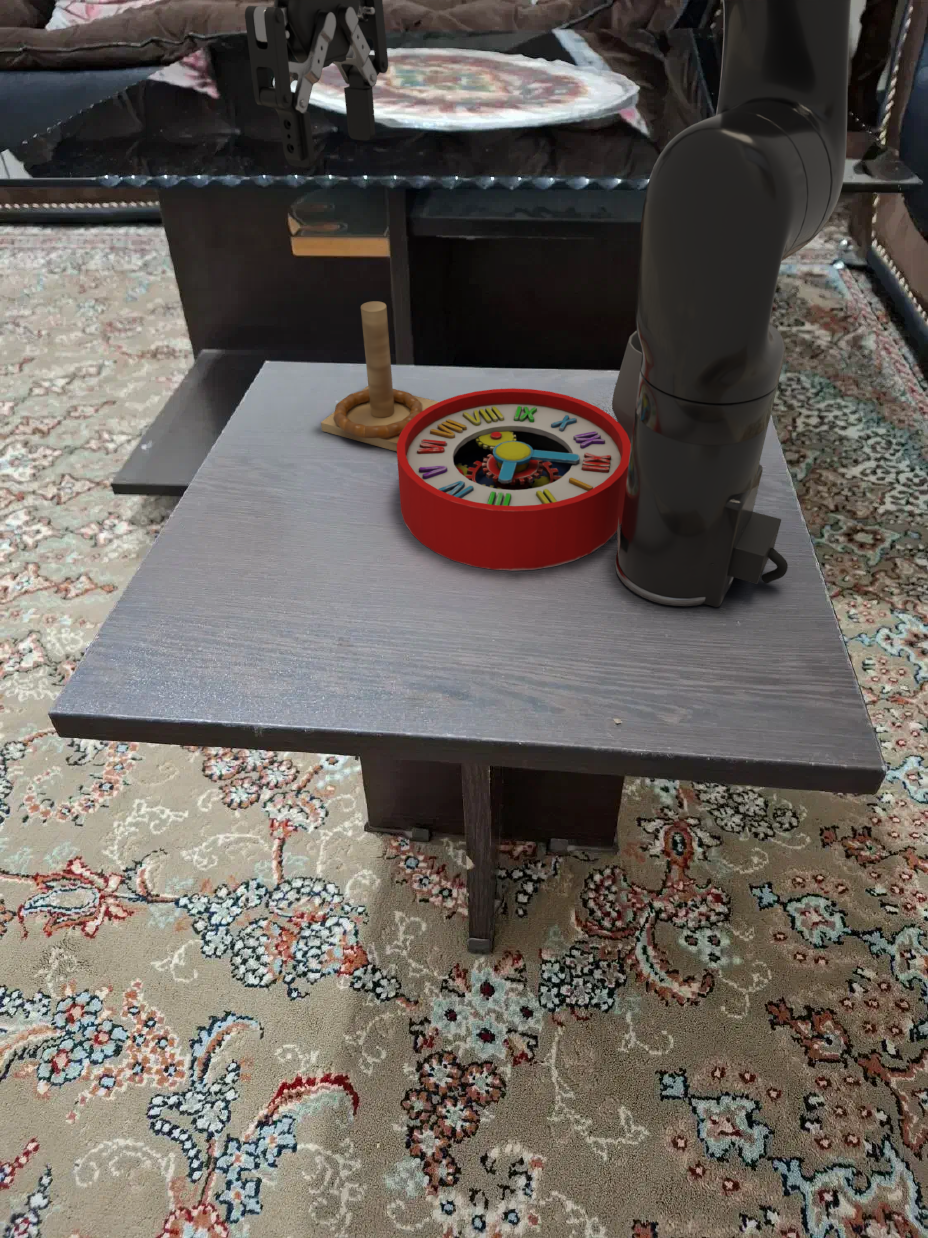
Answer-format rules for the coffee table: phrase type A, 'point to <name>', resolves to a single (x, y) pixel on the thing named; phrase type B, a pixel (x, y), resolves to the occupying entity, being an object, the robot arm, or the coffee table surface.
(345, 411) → the ring
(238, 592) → the coffee table surface
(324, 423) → the wooden peg stand
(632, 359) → the cup
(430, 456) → the toy clock
